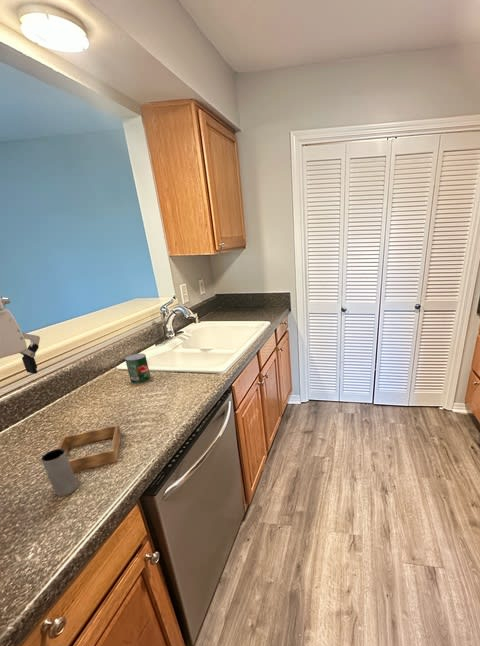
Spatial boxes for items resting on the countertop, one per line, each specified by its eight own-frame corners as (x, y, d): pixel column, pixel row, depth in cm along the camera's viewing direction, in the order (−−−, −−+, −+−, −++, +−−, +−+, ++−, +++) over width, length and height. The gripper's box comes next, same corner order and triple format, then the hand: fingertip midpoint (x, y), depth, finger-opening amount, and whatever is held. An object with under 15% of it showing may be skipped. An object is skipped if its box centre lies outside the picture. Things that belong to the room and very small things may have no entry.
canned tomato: (132, 378, 141) (126, 354, 137) (152, 375, 143) (146, 352, 139) (129, 385, 134) (123, 361, 130) (150, 382, 136) (144, 358, 132)
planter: (72, 494, 77) (58, 459, 73) (52, 497, 76) (36, 462, 72) (81, 481, 81) (68, 447, 77) (61, 484, 80) (47, 450, 76)
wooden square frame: (53, 477, 83) (48, 466, 81) (66, 446, 95) (62, 436, 94) (117, 461, 88) (113, 450, 87) (121, 433, 100) (118, 424, 99)
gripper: (16, 299, 77) (39, 365, 84) (-85, 314, 63) (-48, 393, 69) (35, 300, 75) (58, 369, 81) (-66, 317, 60) (-29, 399, 66)
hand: (9, 380), depth 75 cm, fingers open, 9 cm apart
